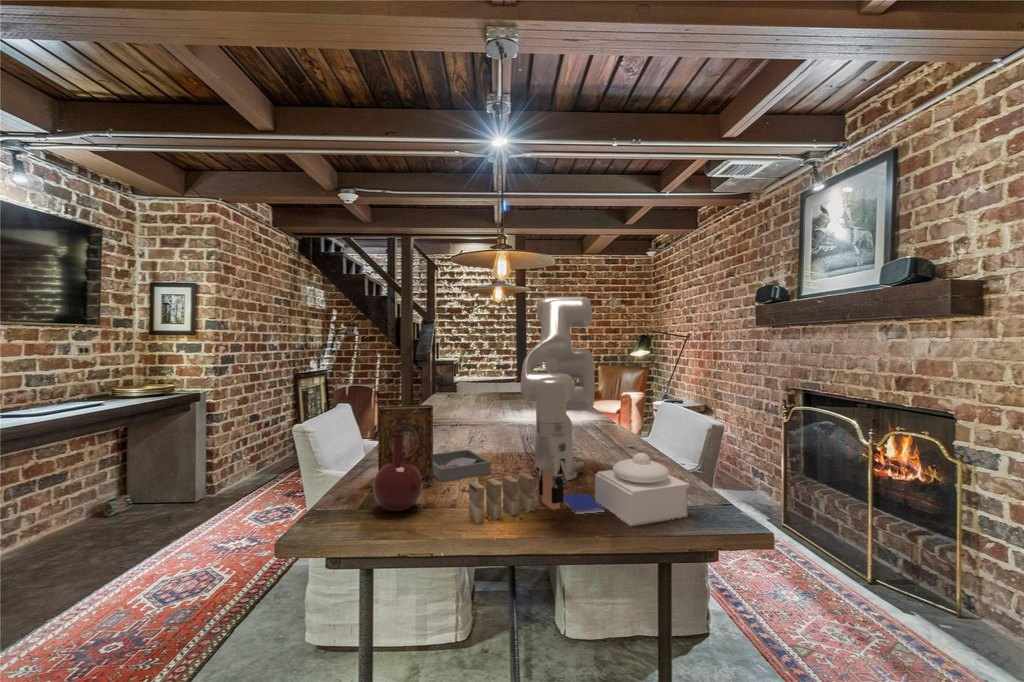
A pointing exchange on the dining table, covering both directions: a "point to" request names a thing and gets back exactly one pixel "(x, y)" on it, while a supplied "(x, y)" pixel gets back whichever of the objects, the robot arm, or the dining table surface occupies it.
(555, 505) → the domino
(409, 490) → the round-bottom flask
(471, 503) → the domino
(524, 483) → the domino
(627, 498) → the butter dish
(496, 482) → the domino
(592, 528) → the dining table surface
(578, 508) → the hard drive
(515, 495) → the domino
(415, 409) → the book
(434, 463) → the slate frame
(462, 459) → the stone block
